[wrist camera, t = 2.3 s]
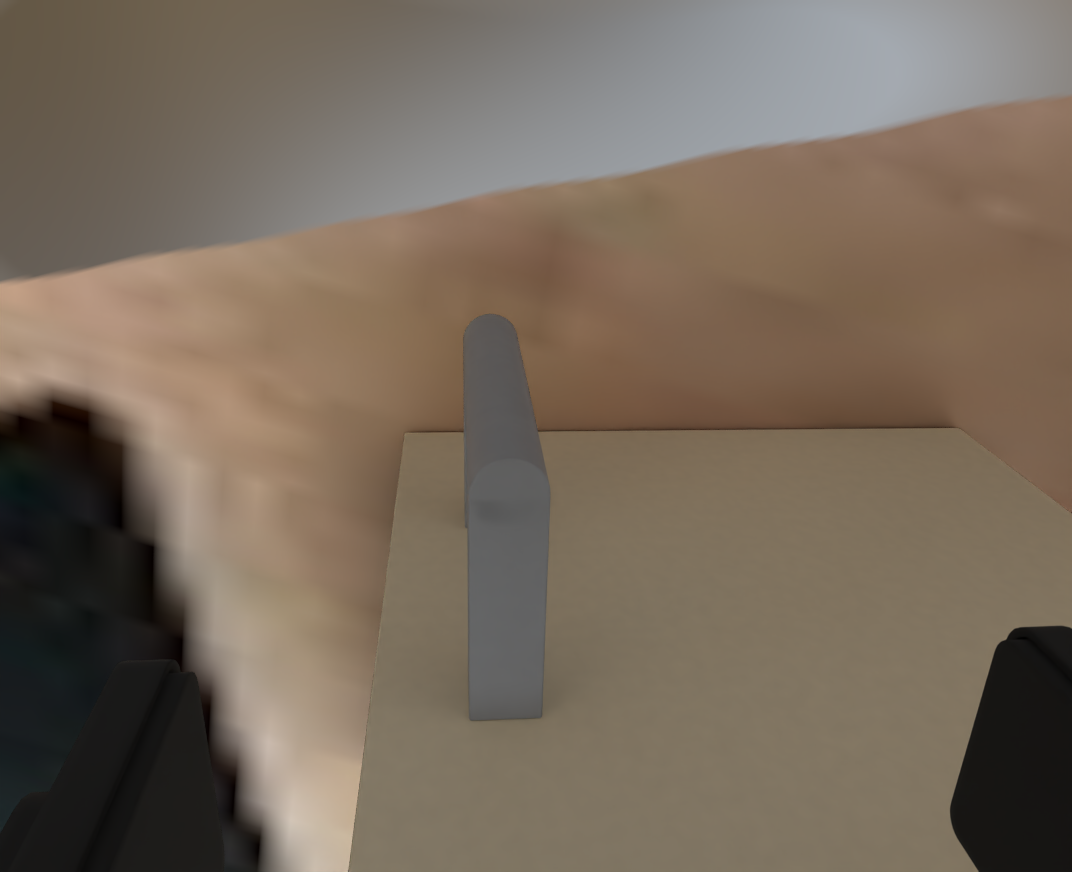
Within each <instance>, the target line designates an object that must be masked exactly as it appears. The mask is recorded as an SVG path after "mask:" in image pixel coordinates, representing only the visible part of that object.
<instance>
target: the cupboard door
mask: <svg viewBox="0 0 1072 872" xmlns="http://www.w3.org/2000/svg"><path fill="white" fill-rule="evenodd" d="M463 371H464V432H428V433H405V434H404V440H403V448H402V456H401V464H400V472H399V480H398V487H397V495H396V503H395V511H394V519H393V526H392V534H391V542H390V550H389V558H388V565H387V573H386V581H385V589H384V597H383V605H382V612H381V620H380V628H379V636H378V644H377V651H376V659H375V667H374V675H373V683H372V690H371V698H370V706H369V714H368V722H367V729H366V737H365V745H364V753H363V761H362V769H361V776H360V784H359V792H358V800H357V808H356V815H355V823H354V831H353V839H352V847H351V854H350V862H349V870H348V872H979V871H978V870H977V868H976V867H975V865H974V864H973V862H972V861H971V859H970V857H969V856H968V854H967V853H966V851H965V850H964V848H963V847H962V845H961V844H960V842H959V840H958V839H957V837H956V835H955V833H954V830H953V827H952V824H951V819H950V805H951V801H952V797H953V794H954V790H955V787H956V783H957V780H958V776H959V773H960V770H961V766H962V763H963V759H964V756H965V752H966V749H967V745H968V742H969V738H970V735H971V731H972V728H973V724H974V721H975V717H976V714H977V711H978V707H979V704H980V700H981V697H982V693H983V690H984V686H985V683H986V679H987V676H988V672H989V669H990V665H991V662H992V659H993V655H994V652H995V649H996V647H997V645H998V644H999V643H1000V642H1001V641H1004V640H1006V639H1007V637H1008V635H1009V633H1010V632H1011V631H1012V630H1013V629H1015V628H1019V627H1036V626H1066V627H1070V628H1071V629H1072V513H1070V512H1069V511H1068V510H1066V509H1065V508H1064V507H1062V506H1061V505H1060V504H1058V503H1057V502H1056V501H1054V500H1053V499H1052V498H1050V497H1049V496H1048V495H1046V494H1045V493H1044V492H1043V491H1041V490H1040V489H1039V488H1037V487H1036V486H1035V485H1033V484H1032V483H1031V482H1029V481H1028V480H1027V479H1025V478H1024V477H1023V476H1021V475H1020V474H1019V473H1018V472H1016V471H1015V470H1014V469H1012V468H1011V467H1010V466H1008V465H1007V464H1006V463H1004V462H1003V461H1002V460H1000V459H999V458H998V457H996V456H995V455H994V454H992V453H991V452H990V451H989V450H987V449H986V448H985V447H983V446H982V445H981V444H979V443H978V442H977V441H975V440H974V439H973V438H971V437H970V436H969V435H967V434H966V433H965V432H963V431H962V430H961V429H960V428H895V429H778V430H662V431H545V432H538V429H537V425H536V420H535V416H534V411H533V406H532V402H531V397H530V392H529V388H528V383H527V379H526V374H525V369H524V365H523V360H522V356H521V351H520V346H519V342H518V337H517V333H516V330H515V328H514V326H513V325H512V324H511V322H510V321H508V320H507V319H506V318H504V317H502V316H500V315H496V314H485V315H482V316H479V317H477V318H475V319H474V320H473V321H471V323H470V324H469V325H468V326H467V328H466V330H465V333H464V337H463Z"/></svg>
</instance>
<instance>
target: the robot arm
mask: <svg viewBox="0 0 1072 872" xmlns="http://www.w3.org/2000/svg"><path fill="white" fill-rule="evenodd" d="M950 819H951V824H952V827H953V830H954V833H955V835H956V837H957V839H958V840H959V842H960V844H961V845H962V847H963V848H964V850H965V851H966V853H967V854H968V856H969V857H970V859H971V861H972V862H973V864H974V865H975V867H976V868H977V870H978V871H979V872H1072V629H1071V628H1070V627H1066V626H1036V627H1019V628H1015V629H1013V630H1012V631H1011V632H1010V633H1009V635H1008V637H1007V639H1006V640H1004V641H1001V642H1000V643H999V644H998V645H997V647H996V649H995V652H994V655H993V659H992V662H991V665H990V669H989V672H988V676H987V679H986V683H985V686H984V690H983V693H982V697H981V700H980V704H979V707H978V711H977V714H976V717H975V721H974V724H973V728H972V731H971V735H970V738H969V742H968V745H967V749H966V752H965V756H964V759H963V763H962V766H961V770H960V773H959V776H958V780H957V783H956V787H955V790H954V794H953V797H952V801H951V805H950ZM0 872H224V844H223V838H222V831H221V825H220V819H219V812H218V806H217V800H216V793H215V787H214V781H213V775H212V768H211V762H210V756H209V749H208V743H207V737H206V730H205V724H204V718H203V711H202V705H201V699H200V692H199V686H198V681H197V677H196V675H195V673H193V672H181V671H180V667H179V665H178V663H177V661H175V660H173V659H168V660H141V661H122V662H120V663H118V664H117V665H116V667H115V668H114V670H113V671H112V673H111V675H110V677H109V679H108V681H107V683H106V685H105V687H104V689H103V690H102V692H101V694H100V696H99V698H98V700H97V702H96V704H95V706H94V708H93V710H92V711H91V713H90V715H89V717H88V719H87V721H86V723H85V725H84V727H83V729H82V730H81V732H80V734H79V736H78V738H77V740H76V742H75V744H74V746H73V748H72V750H71V751H70V753H69V755H68V757H67V759H66V761H65V763H64V765H63V767H62V769H61V771H60V772H59V774H58V776H57V778H56V780H55V782H54V784H53V786H52V788H51V790H50V791H49V792H35V793H30V794H28V795H27V796H26V797H24V798H23V799H21V801H20V802H19V804H18V805H17V806H16V808H15V809H14V811H13V812H12V814H11V816H10V817H9V819H8V821H7V823H6V824H5V826H4V828H3V830H2V832H1V833H0Z"/></svg>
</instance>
